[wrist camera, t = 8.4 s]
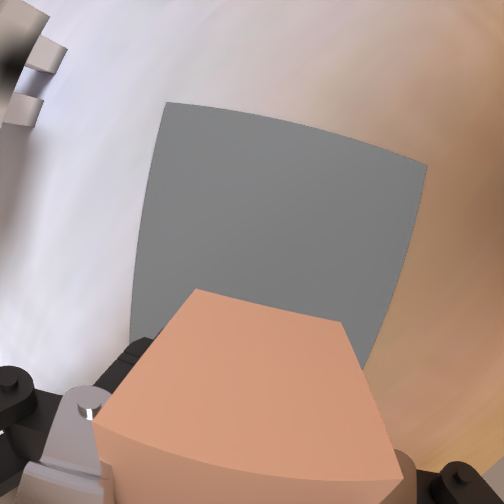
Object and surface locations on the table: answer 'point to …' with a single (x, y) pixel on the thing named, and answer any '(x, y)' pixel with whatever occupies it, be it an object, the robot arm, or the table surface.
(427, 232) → the table surface
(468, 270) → the table surface
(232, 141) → the mat
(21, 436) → the robot arm
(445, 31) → the table surface
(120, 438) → the terracotta block
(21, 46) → the toy llama
